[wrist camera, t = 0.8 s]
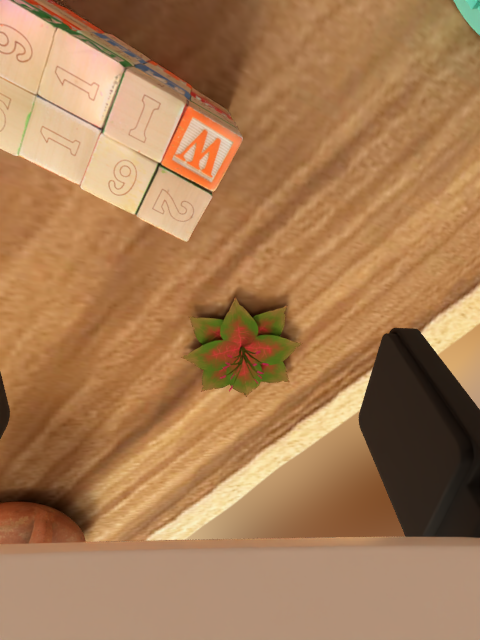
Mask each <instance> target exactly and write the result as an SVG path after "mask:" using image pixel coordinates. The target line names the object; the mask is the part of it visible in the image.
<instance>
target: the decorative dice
mask: <svg viewBox="0 0 480 640" xmlns="http://www.w3.org/2000/svg"><path fill="white" fill-rule="evenodd" d="M454 2H455V4H456V6H457V8H458V9H459V11H460V13H461V14H462V16H463V17H464V18H465V20H466V21H467V22H468V24H469V25H470V26H471V27H472V28H473V29H474V30H475V31H476V32H477V33H478V34H479V35H480V0H454Z"/></svg>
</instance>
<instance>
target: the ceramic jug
mask: <svg viewBox="0 0 480 640" xmlns="http://www.w3.org/2000/svg"><path fill="white" fill-rule="evenodd" d="M71 542H85V538H84V535H83V533H82V531H81V529H80V528H79V526H78V525H77V524H76V523H75V522H74V521H73V520H72V519H71V518H69V517H68V516H67V515H65V514H64V513H62V512H60V511H58V510H56V509H54V508H52V507H49V506H46V505H43V504H38V503H31V502H5V503H0V544H31V543H71Z"/></svg>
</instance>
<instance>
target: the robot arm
mask: <svg viewBox="0 0 480 640" xmlns="http://www.w3.org/2000/svg"><path fill="white" fill-rule="evenodd" d="M9 417H10V410H9V405H8V401H7V397H6V393H5V389H4V385H3V381H2V376H1V372H0V439H1V437H2V435H3V433H4V431H5V429H6V427H7V425H8V422H9ZM359 425H360V428H361V431H362V433H363V436H364V438H365V440H366V443H367V445H368V448H369V450H370V452H371V455H372V457H373V460H374V462H375V464H376V467H377V469H378V471H379V474H380V476H381V479H382V481H383V483H384V486H385V488H386V491H387V493H388V496H389V498H390V500H391V503H392V505H393V507H394V510H395V512H396V515H397V517H398V519H399V522H400V524H401V527H402V529H403V531H404V534H405V536H406V537H332V538H268V539H267V538H266V539H264V538H263V539H209V540H159V541H111V542H71V543H31V544H0V640H480V409H479V408H478V407H477V406H476V404H475V403H474V402H473V400H472V399H471V398H470V397H469V395H468V394H467V392H466V391H465V390H464V389H463V388H462V386H461V385H460V383H459V382H458V381H457V380H456V378H455V377H454V376H453V374H452V373H451V372H450V370H449V369H448V368H447V366H446V365H445V364H444V362H443V361H442V360H441V359H440V357H439V356H438V355H437V353H436V352H435V351H434V349H433V348H432V347H431V346H430V344H429V343H428V342H427V340H426V339H425V338H424V336H423V335H422V334H421V332H420V331H419V330H418V329H409V328H393V329H392V330H391V331H390V333H389V334H387V333H386V334H384V336H383V337H382V340H381V343H380V347H379V350H378V353H377V357H376V360H375V363H374V367H373V370H372V373H371V376H370V380H369V383H368V386H367V390H366V393H365V396H364V400H363V403H362V406H361V410H360V413H359Z"/></svg>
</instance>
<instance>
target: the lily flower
mask: <svg viewBox="0 0 480 640" xmlns="http://www.w3.org/2000/svg"><path fill="white" fill-rule="evenodd" d="M286 308H287V306H285V307H283V308H279V309H275V310H274V311H268V312H265V313H262V314H259V315H256V316H254V317H251V315H250V314H249V313H248V312H247V311H246V310H245V309H244V308H243V307H242V306H241V305H239V304H238V301H237V299H236V298H234V301H233V303H232V305H231V307H230V309H229V310H230V311H229V312H228V313H227V314H226V316H225V318H224V320H221V319H213V318H202V317H199V318H195V317H191V316H188V317H189V318H190V320H191V323H192V326H193V327H194V333H195V335H196V338H197V339H198V341H199V342H200V343H201V344H202V345H203V346H201V347H199V348H197V349H195V350H194V351H192V352H190V353H189V354H188V355H185V356H183V357H181V358H184V359H186V360H187V361H189V362H191V363H194V364H195V366H197V367H199V368H200V369H203V370H204V371H203V376H202V385H203V387H202V391H204V390H211V389H213V388H215V389H218V388H222V387H225V386H227V385H229V384H230V385H231V388H230V390H231V389H232V388H233V389H235V390H237V391H239V392H241V393H244V395H246V396H247V395H248V394H249V393H250V392H252V389H255V388H257V387H258V386H259V384H260V382H261V381H263V382H268V383H273V382H281V381H284V382H289V380H288V376H287V374H286V372H287V371H286V367H285V365H284V363H283V361H284V360H285V359H286V358H287V357H289V356H290V355H291V354H292V353H293V352H294V350H295V348H296V347H298V346H300V345H301V344H303V343H298V342H295V341H290V340H289V339H286V338H282V337H279V336H280V335H281V333H282V331H283V328H284V323H285V314H284V311H286ZM230 390H229V391H230ZM202 391H201V392H202Z"/></svg>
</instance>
